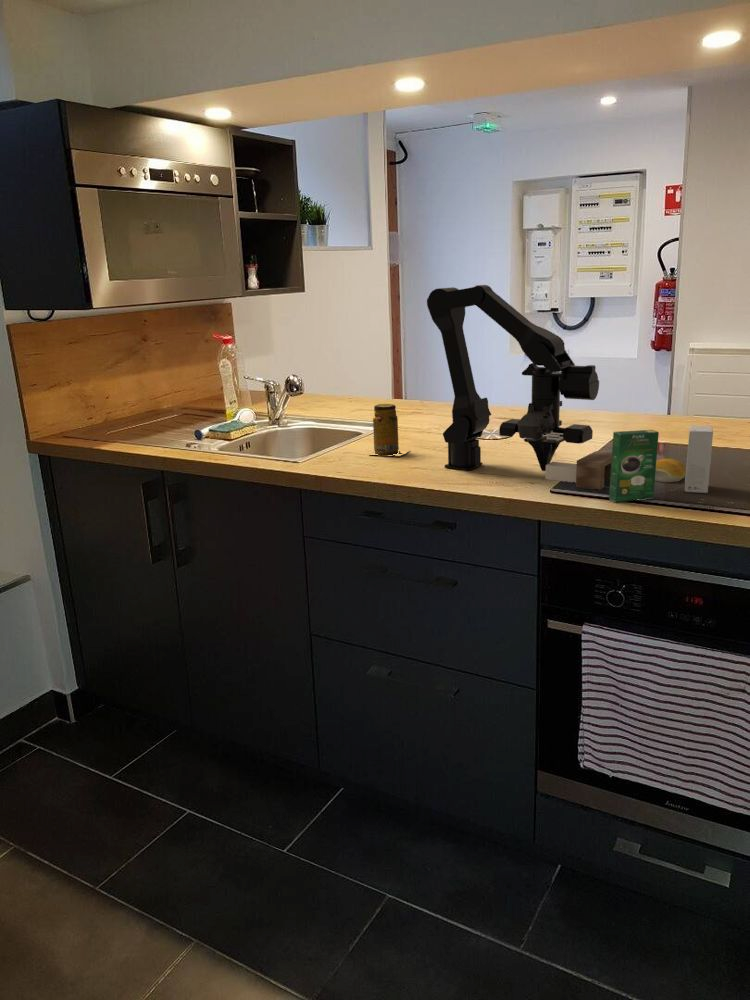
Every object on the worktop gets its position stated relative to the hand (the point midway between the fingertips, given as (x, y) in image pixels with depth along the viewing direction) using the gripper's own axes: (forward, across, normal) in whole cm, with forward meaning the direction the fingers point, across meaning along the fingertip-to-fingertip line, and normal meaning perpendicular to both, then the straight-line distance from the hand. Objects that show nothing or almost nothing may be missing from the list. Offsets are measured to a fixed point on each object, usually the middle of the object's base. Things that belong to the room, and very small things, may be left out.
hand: (544, 470), depth 166 cm
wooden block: (+1, +12, 0) cm, 12 cm away
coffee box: (+1, +22, -8) cm, 23 cm away
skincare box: (+1, +30, +5) cm, 30 cm away
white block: (+1, +7, 0) cm, 7 cm away
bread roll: (+2, +22, +11) cm, 24 cm away
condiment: (+1, -42, +2) cm, 42 cm away
